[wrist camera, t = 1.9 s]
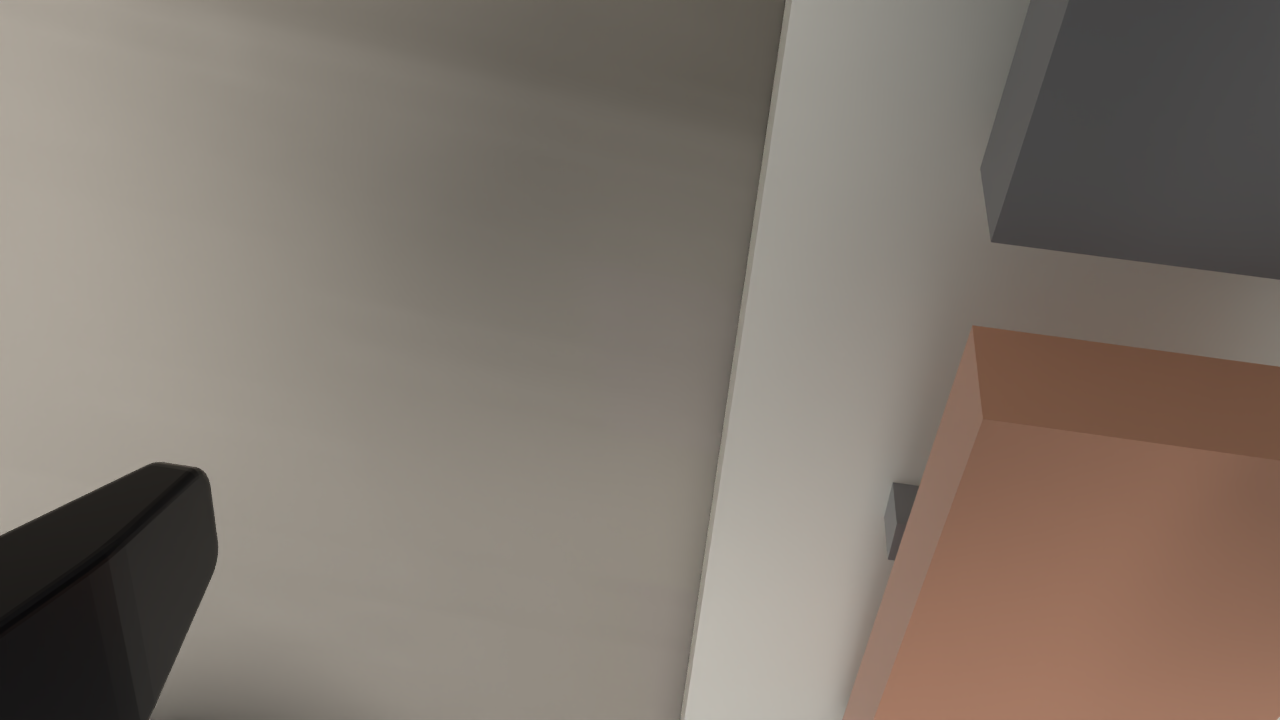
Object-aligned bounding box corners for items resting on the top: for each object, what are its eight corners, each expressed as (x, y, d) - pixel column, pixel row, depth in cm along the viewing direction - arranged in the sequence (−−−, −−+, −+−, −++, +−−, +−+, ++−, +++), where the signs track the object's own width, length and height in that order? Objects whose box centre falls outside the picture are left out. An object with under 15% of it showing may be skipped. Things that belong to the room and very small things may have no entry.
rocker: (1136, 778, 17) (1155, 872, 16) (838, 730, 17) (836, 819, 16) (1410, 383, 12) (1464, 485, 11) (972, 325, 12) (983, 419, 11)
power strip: (1001, 1008, 29) (1040, 1285, 24) (646, 947, 30) (612, 1203, 25) (1760, -727, 12) (2423, -1015, 7) (901, -788, 13) (957, -1092, 8)
